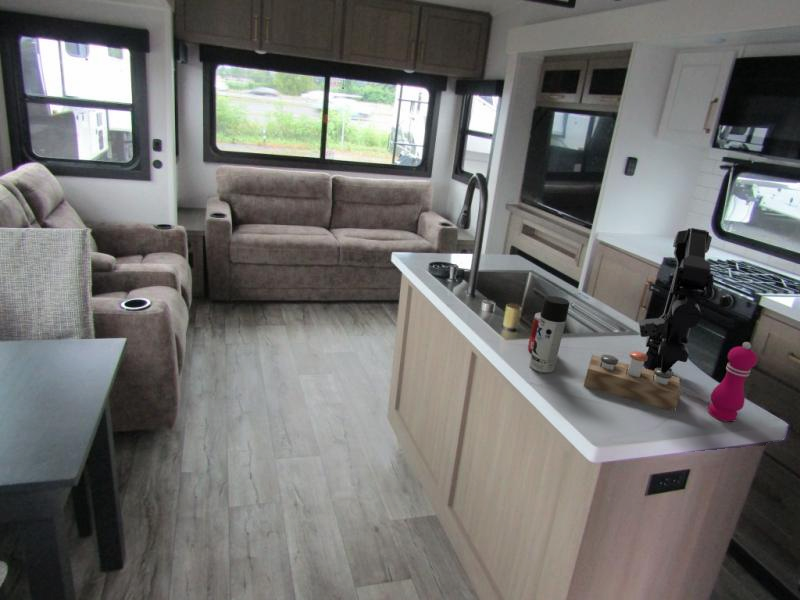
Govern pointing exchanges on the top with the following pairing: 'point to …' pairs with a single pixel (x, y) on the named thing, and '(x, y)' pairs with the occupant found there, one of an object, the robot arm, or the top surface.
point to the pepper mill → (732, 384)
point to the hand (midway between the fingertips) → (663, 371)
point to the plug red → (636, 363)
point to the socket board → (633, 384)
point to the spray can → (549, 334)
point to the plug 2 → (662, 376)
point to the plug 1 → (608, 361)
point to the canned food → (534, 331)
